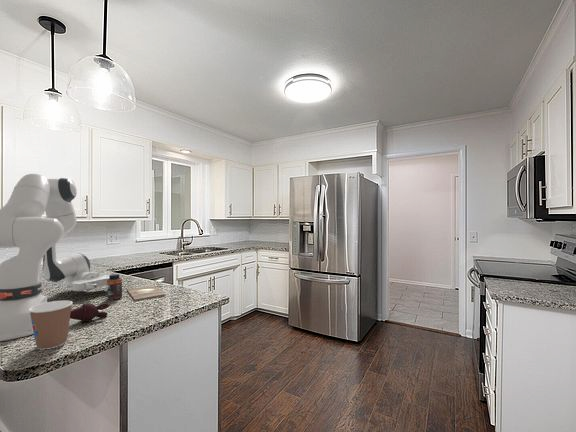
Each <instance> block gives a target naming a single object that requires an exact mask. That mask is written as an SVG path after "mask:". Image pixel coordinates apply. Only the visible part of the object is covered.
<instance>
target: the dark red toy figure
mask: <svg viewBox="0 0 576 432" xmlns="http://www.w3.org/2000/svg"><path fill="white" fill-rule="evenodd" d="M109 307H110V304H109V303H108V302H104V303H101V304H98V305H95V304H94V303H83V304H82V305H81V306H79V307H76V308H74V309H71V313H70V320H77V321H80V322H81V323H82V324H84V322H90V321H92V320H93V319H95V318H106V317H107V316H108V315H109V314H108V312H106V311H103V310H106V309H107V308H109Z"/></svg>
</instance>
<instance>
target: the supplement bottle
mask: <svg viewBox="0 0 576 432" xmlns="http://www.w3.org/2000/svg"><path fill="white" fill-rule="evenodd" d="M110 274H111V275H109V280H108V281H107V285H106V286H107V287H106V288H107V289H106V290H107V299H108V300H109V301H115V300H119V299H121V298H122V297H123V279H122V278H121V277H120V273H110Z"/></svg>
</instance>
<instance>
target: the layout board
mask: <svg viewBox="0 0 576 432" xmlns="http://www.w3.org/2000/svg"><path fill="white" fill-rule="evenodd" d="M126 291H127V293H128V294H129V296H130V297H131V298H132V300H133V301H134V302H137V301H144V300H149V299H154V298H160V297H165V295H166V294H165V293H164V292H163V291H162V290H161V289H160V288H159V287H157V286H156V285H155V284H153V285H146V286H140V287H134V288H133V287H132V288H127V289H126Z"/></svg>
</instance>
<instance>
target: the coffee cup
mask: <svg viewBox="0 0 576 432" xmlns="http://www.w3.org/2000/svg"><path fill="white" fill-rule="evenodd" d="M72 305H73V301H72V300H66V299H65V300H53V301H47V303H43V304H39V305H36V306H33V307H31V308H30V309H29V312H31V313H30V315H31V321H32V327H33V332H34V334H33V337H34V341H35V345H36V349H38V350H39V349H40V350H39V351H43V350H45V349H47V350H52V349H56V348H58V346H59V347H61V346H64V345H65V344H66V343H67V340H68V337H69V328H70V320H71V319H70V313H71V310H72ZM64 343H65V344H64ZM55 347H56V348H55ZM51 348H52V349H51ZM45 351H46V350H45Z"/></svg>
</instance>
